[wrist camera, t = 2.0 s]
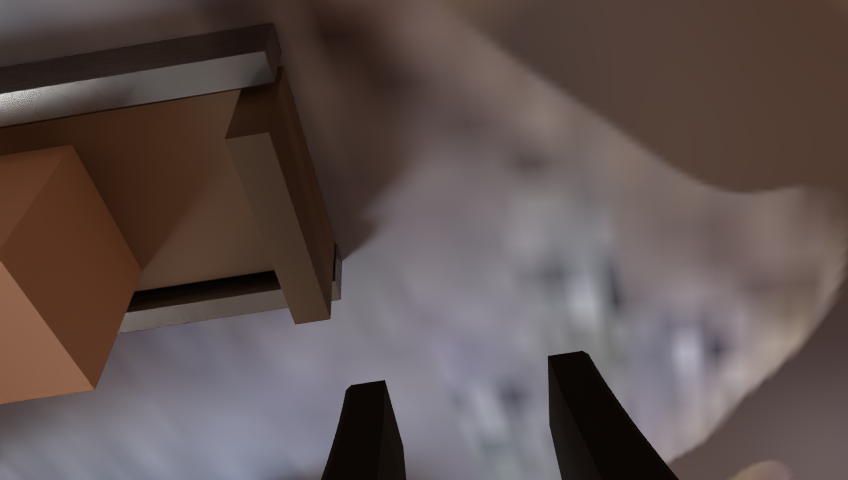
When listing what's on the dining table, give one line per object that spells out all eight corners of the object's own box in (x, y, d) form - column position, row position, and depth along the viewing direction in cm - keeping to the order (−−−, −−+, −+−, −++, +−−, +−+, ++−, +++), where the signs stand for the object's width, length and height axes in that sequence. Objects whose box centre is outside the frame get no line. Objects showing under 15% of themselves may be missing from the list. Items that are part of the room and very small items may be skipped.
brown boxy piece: (-145, 314, 21) (-219, 402, 19) (-298, 160, 17) (-419, 242, 15) (334, 240, 21) (330, 319, 18) (283, 66, 17) (269, 132, 14)
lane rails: (-63, 324, 22) (-92, 365, 21) (-254, 109, 17) (-309, 144, 15) (341, 262, 22) (340, 299, 20) (272, 22, 16) (264, 51, 15)
